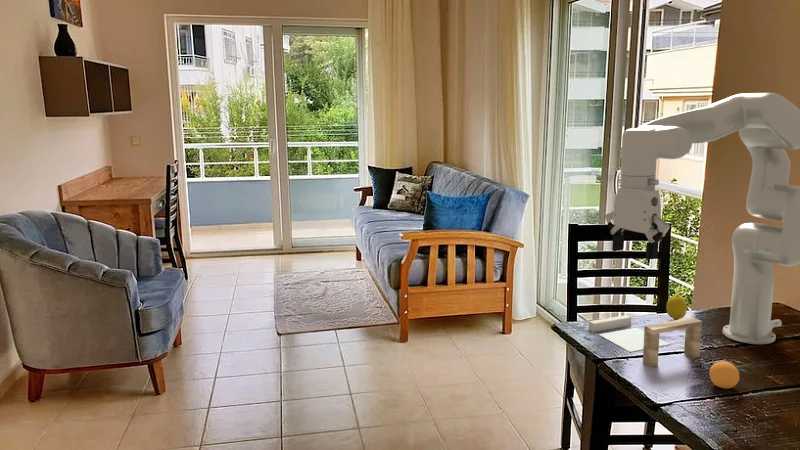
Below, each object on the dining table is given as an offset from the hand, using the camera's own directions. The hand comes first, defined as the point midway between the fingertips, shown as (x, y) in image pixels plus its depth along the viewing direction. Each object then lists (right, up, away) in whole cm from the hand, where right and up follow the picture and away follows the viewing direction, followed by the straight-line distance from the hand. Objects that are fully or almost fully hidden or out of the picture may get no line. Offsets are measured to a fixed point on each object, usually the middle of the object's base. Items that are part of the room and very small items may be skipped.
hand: (634, 254), depth 140 cm
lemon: (+27, -22, +36) cm, 50 cm away
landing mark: (+9, -25, +23) cm, 35 cm away
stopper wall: (+6, -23, +32) cm, 40 cm away
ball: (+18, -27, -6) cm, 33 cm away
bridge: (+13, -27, +10) cm, 32 cm away
